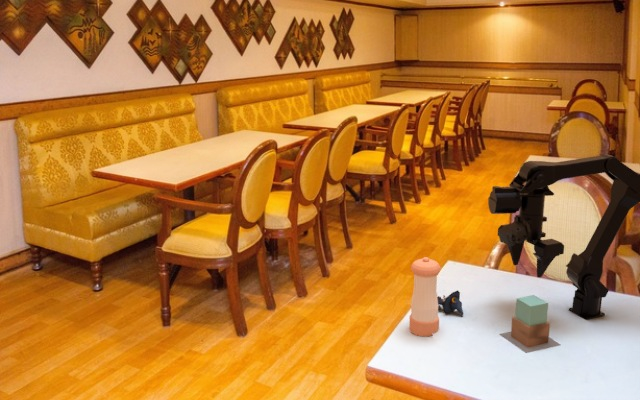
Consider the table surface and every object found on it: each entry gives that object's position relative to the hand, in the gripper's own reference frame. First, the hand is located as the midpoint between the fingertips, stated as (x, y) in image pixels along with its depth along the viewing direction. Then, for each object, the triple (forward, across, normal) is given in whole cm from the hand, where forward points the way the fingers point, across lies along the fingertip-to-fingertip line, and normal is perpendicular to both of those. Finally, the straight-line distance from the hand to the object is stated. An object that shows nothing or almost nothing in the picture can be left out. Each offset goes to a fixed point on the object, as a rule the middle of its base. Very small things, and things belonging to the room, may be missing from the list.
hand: (527, 271), depth 155 cm
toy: (+13, -12, -18) cm, 25 cm away
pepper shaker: (+13, -3, -28) cm, 31 cm away
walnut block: (+12, +12, -8) cm, 19 cm away
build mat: (+12, +12, -8) cm, 19 cm away
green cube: (+7, +12, -8) cm, 16 cm away
